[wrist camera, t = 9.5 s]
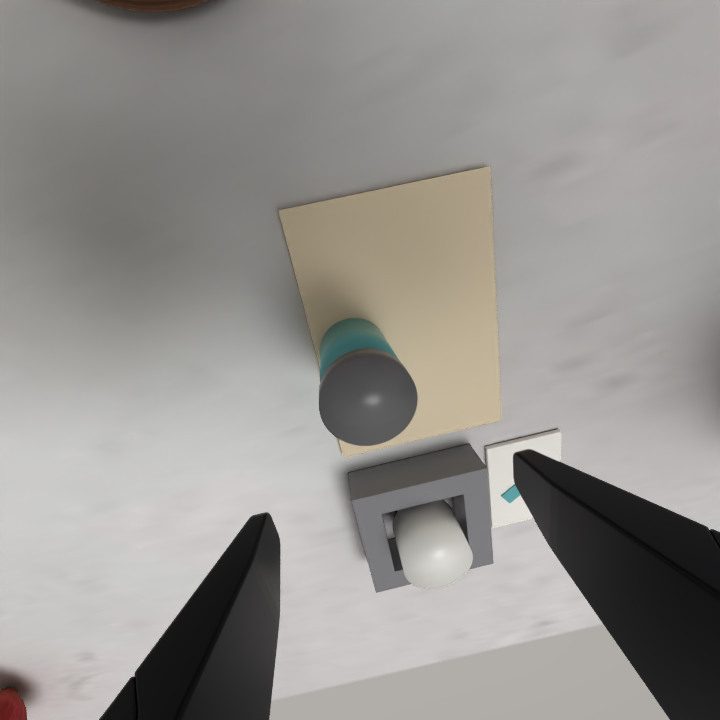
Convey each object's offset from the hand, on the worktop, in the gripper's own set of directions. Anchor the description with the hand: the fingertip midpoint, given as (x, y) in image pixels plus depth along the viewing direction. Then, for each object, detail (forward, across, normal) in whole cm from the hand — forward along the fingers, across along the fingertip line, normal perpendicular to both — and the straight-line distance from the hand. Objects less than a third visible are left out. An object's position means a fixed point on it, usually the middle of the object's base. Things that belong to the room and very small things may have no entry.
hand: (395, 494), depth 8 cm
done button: (+10, -2, +12) cm, 16 cm away
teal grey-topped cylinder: (+11, 0, 0) cm, 11 cm away
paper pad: (+11, -3, 0) cm, 11 cm away
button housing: (+11, -2, +12) cm, 16 cm away
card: (+11, -10, +12) cm, 19 cm away
